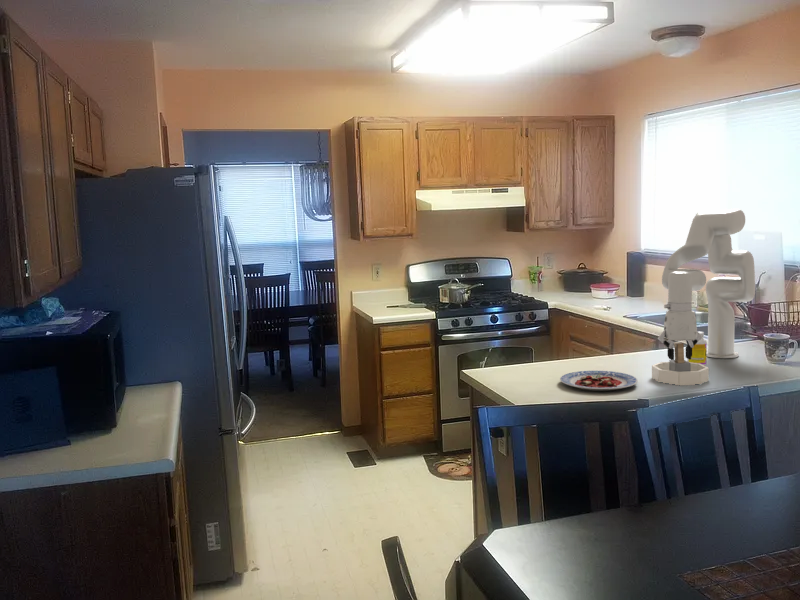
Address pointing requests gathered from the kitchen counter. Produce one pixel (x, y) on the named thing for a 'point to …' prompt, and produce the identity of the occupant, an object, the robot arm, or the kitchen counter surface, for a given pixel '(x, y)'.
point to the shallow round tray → (680, 373)
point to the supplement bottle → (699, 351)
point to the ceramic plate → (599, 380)
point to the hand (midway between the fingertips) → (679, 358)
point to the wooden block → (679, 352)
